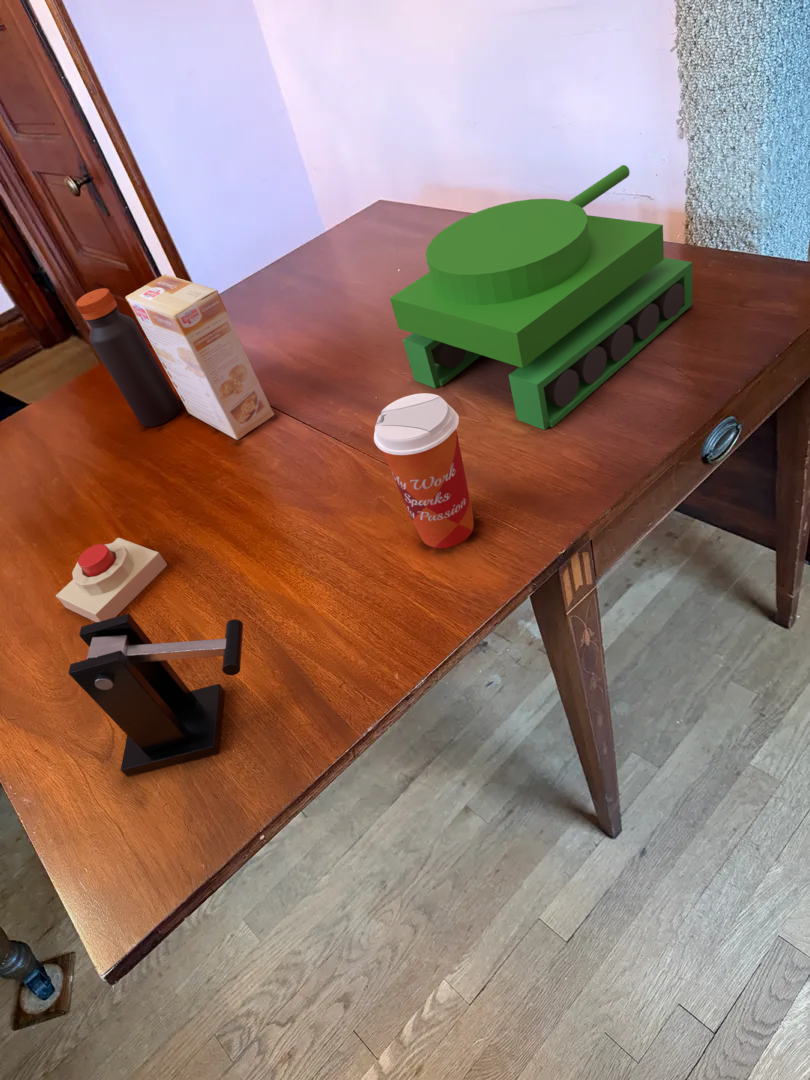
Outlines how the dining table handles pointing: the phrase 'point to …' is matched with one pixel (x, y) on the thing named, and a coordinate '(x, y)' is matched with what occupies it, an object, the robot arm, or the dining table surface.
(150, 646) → the switch lever
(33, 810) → the dining table surface
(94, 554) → the red button
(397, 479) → the coffee cup
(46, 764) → the dining table surface
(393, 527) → the dining table surface
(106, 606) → the button housing
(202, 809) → the dining table surface
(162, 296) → the coffeecake box
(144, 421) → the bottle
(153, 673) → the switch bracket
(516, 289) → the tank
